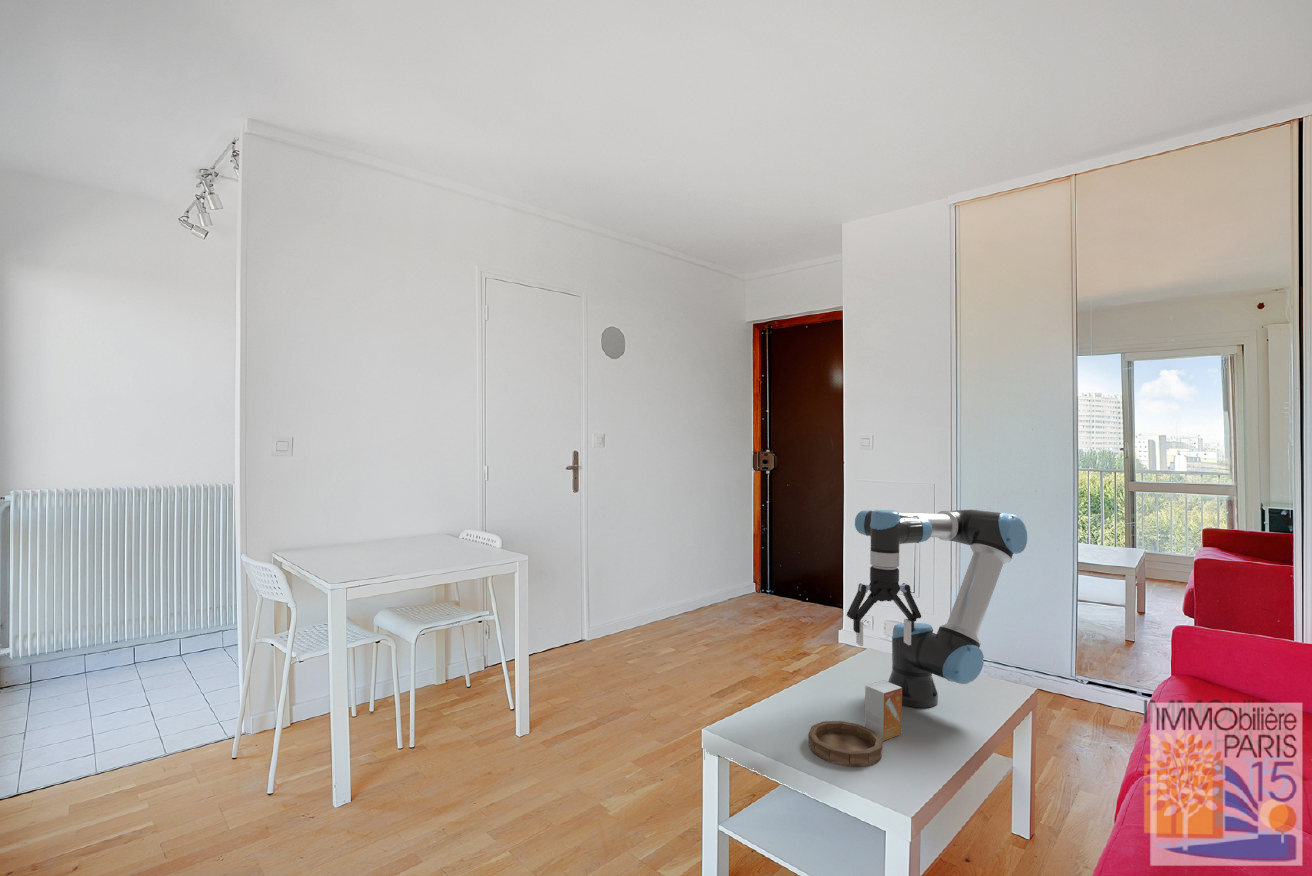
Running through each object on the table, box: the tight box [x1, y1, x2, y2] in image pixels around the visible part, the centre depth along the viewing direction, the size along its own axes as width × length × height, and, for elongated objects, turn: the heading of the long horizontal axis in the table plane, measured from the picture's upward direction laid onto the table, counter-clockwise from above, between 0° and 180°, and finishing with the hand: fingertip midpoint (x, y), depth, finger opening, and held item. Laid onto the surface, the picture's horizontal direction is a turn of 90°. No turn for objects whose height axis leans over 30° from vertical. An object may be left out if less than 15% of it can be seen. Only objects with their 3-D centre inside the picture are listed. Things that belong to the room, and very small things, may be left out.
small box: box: [864, 680, 903, 742], centre depth 173 cm, size 8×6×13 cm
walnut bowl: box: [807, 720, 884, 768], centre depth 164 cm, size 18×18×3 cm
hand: (883, 644), depth 174 cm, fingers open, 13 cm apart
